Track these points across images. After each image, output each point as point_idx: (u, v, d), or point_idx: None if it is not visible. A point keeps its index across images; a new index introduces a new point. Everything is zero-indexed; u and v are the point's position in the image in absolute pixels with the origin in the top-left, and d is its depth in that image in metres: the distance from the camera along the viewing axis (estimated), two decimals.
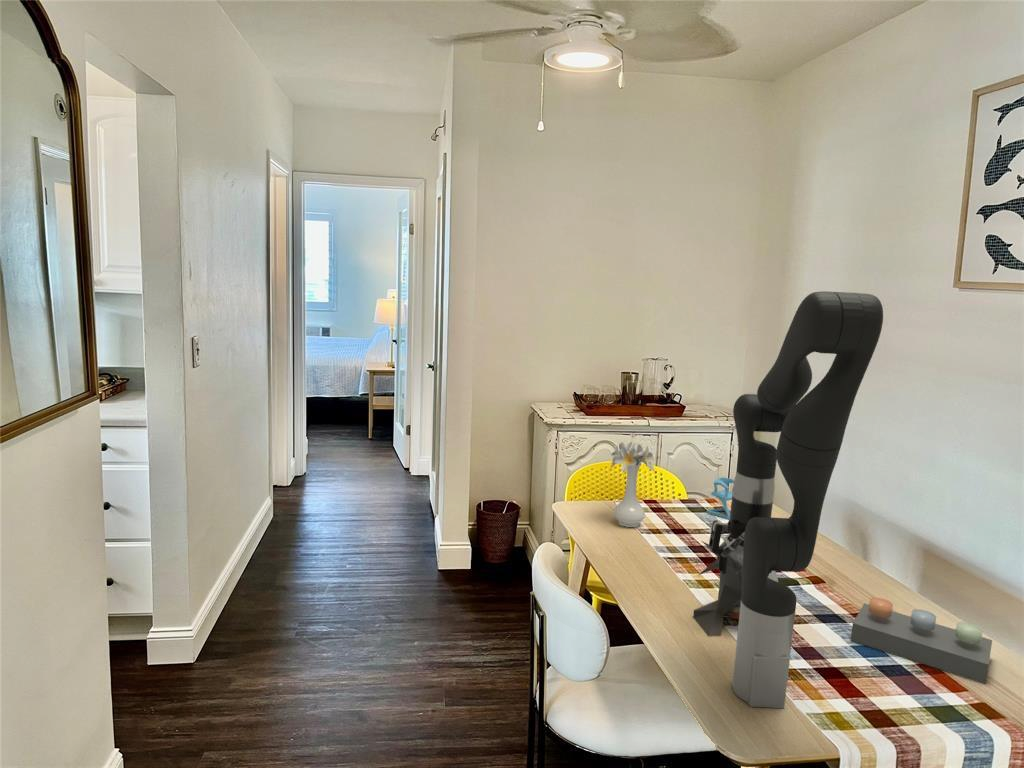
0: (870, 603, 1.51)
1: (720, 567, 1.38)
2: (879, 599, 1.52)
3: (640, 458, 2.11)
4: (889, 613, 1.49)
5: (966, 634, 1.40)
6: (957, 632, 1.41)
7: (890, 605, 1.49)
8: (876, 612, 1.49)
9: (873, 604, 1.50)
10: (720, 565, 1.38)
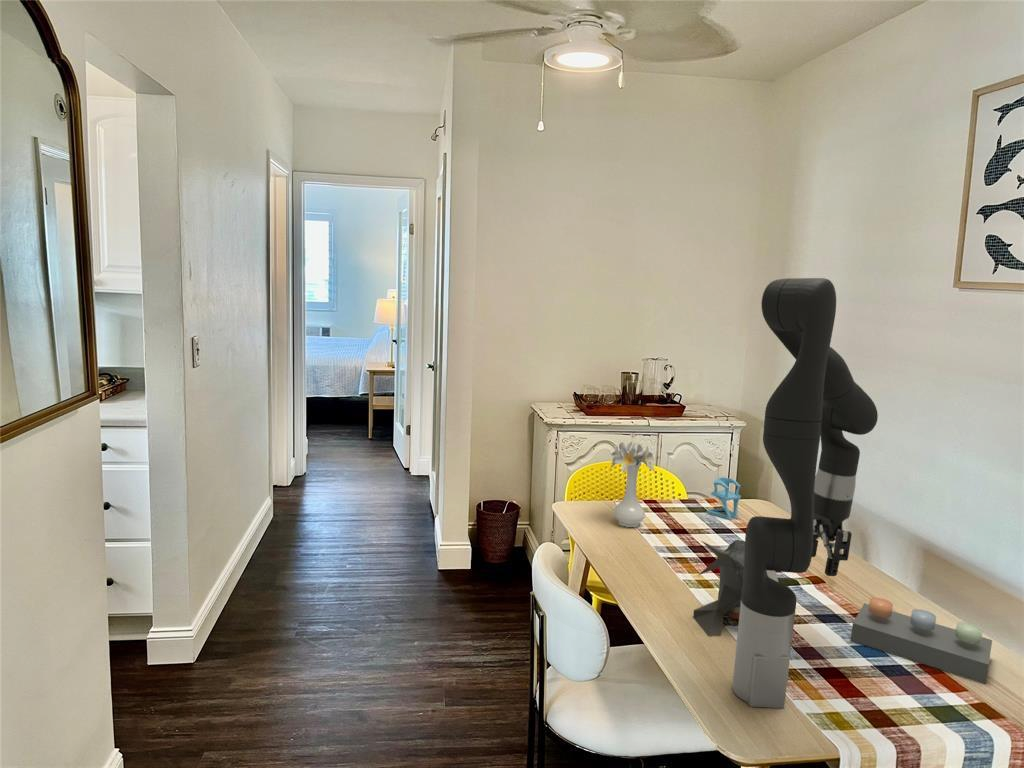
0: (870, 603, 1.51)
1: None
2: (879, 599, 1.52)
3: (640, 458, 2.11)
4: (889, 613, 1.49)
5: (966, 634, 1.40)
6: (957, 632, 1.41)
7: (890, 605, 1.49)
8: (876, 612, 1.49)
9: (873, 604, 1.50)
10: None
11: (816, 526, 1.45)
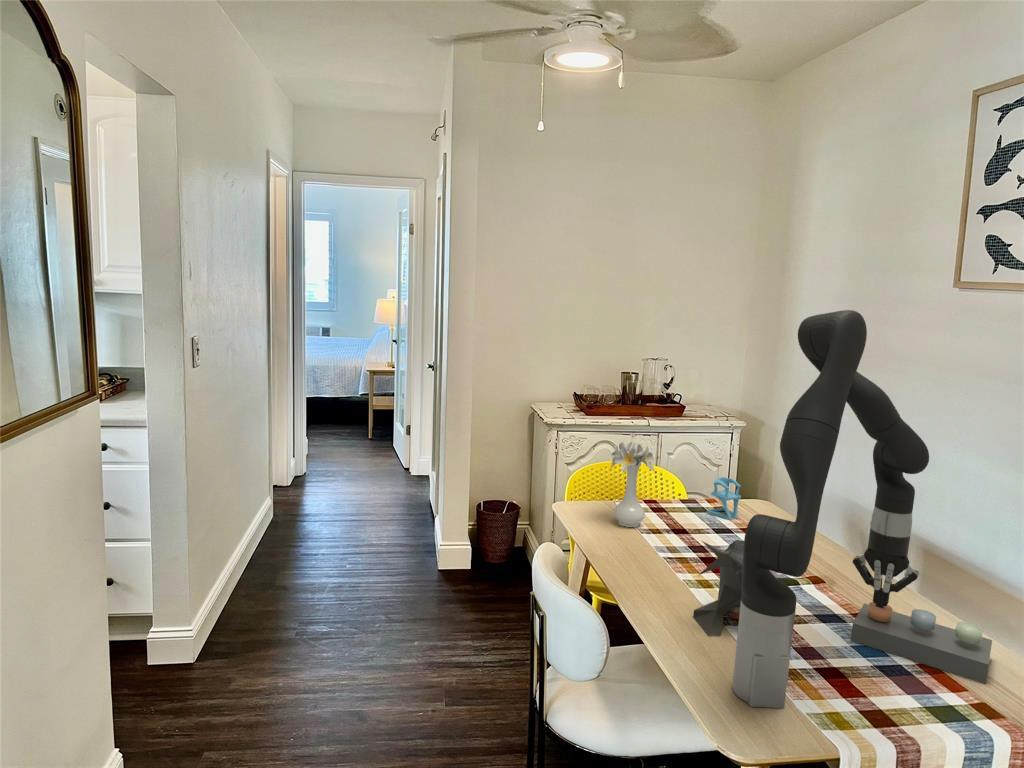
0: (869, 607, 1.51)
1: None
2: None
3: (640, 458, 2.11)
4: (888, 617, 1.49)
5: (966, 634, 1.40)
6: (957, 632, 1.41)
7: (889, 609, 1.49)
8: (876, 617, 1.49)
9: (872, 608, 1.50)
10: None
11: (881, 565, 1.48)
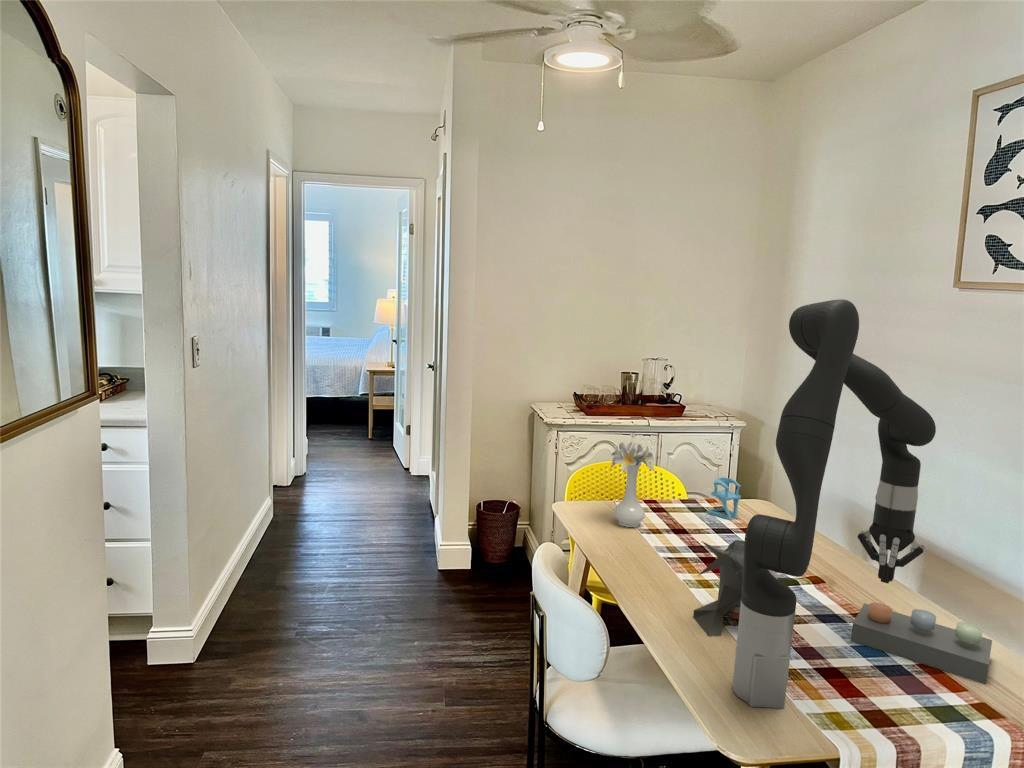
0: (869, 608, 1.51)
1: None
2: (878, 604, 1.52)
3: (640, 458, 2.11)
4: (888, 618, 1.49)
5: (966, 634, 1.40)
6: (957, 632, 1.41)
7: (889, 610, 1.49)
8: (875, 618, 1.49)
9: (872, 609, 1.50)
10: None
11: (886, 540, 1.47)
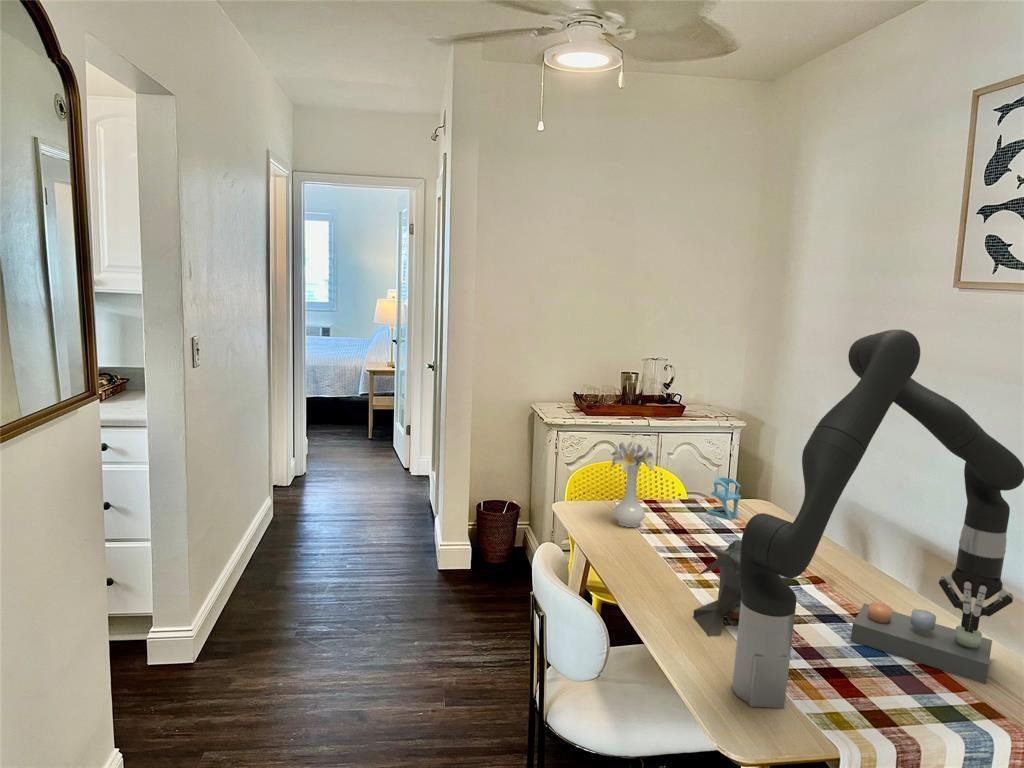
0: (869, 608, 1.51)
1: None
2: (878, 604, 1.52)
3: (640, 458, 2.11)
4: (888, 618, 1.49)
5: (966, 638, 1.40)
6: (957, 636, 1.41)
7: (889, 610, 1.49)
8: (875, 618, 1.49)
9: (872, 609, 1.50)
10: None
11: (971, 587, 1.39)
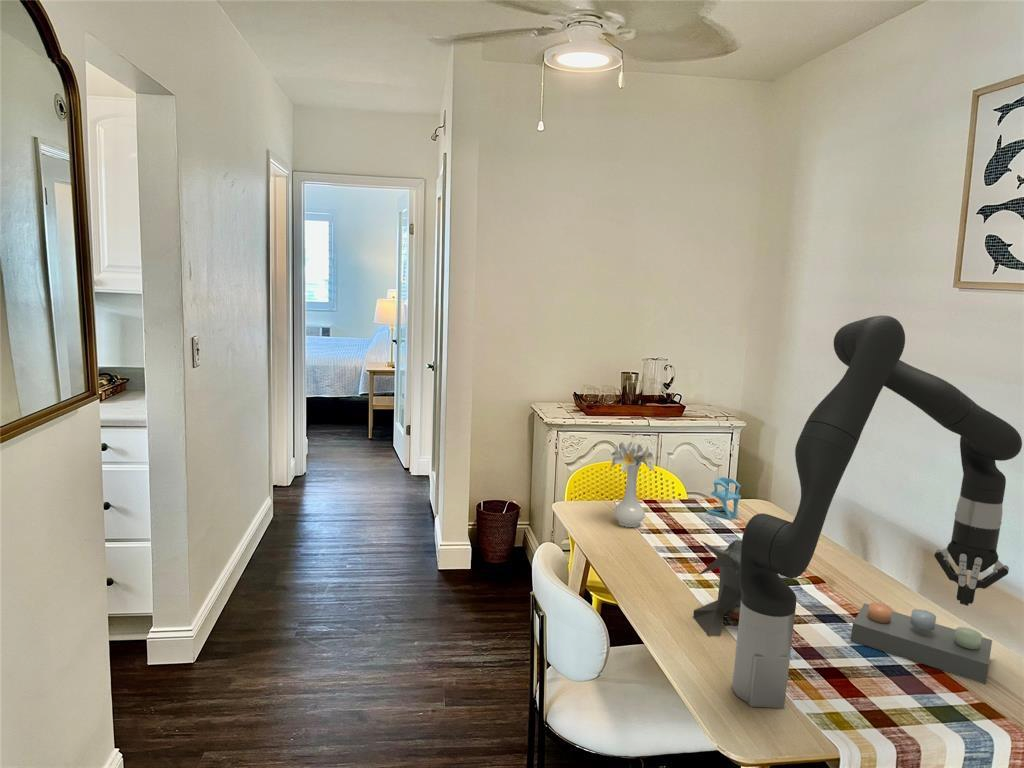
0: (869, 608, 1.51)
1: None
2: (878, 604, 1.52)
3: (640, 458, 2.11)
4: (888, 618, 1.49)
5: (965, 639, 1.40)
6: (956, 637, 1.41)
7: (889, 610, 1.49)
8: (875, 618, 1.49)
9: (872, 609, 1.50)
10: None
11: (966, 559, 1.38)
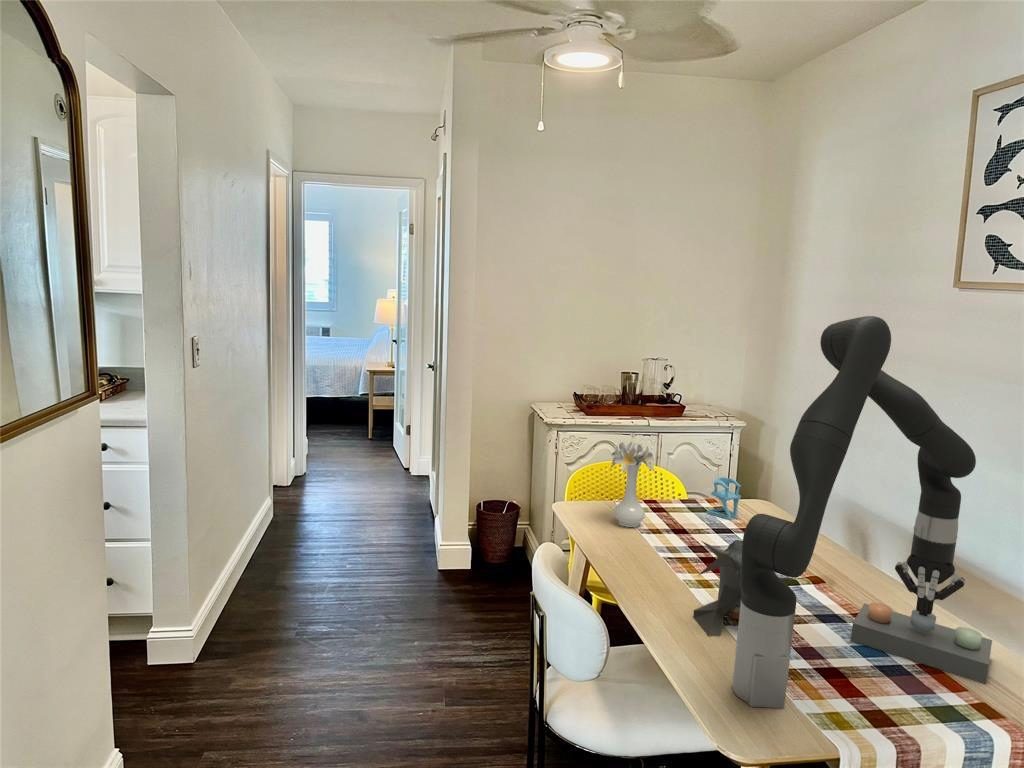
0: (869, 608, 1.51)
1: None
2: (878, 604, 1.52)
3: (640, 458, 2.11)
4: (888, 618, 1.49)
5: (965, 639, 1.40)
6: (956, 637, 1.41)
7: (889, 610, 1.49)
8: (875, 618, 1.49)
9: (872, 609, 1.50)
10: None
11: (925, 572, 1.44)
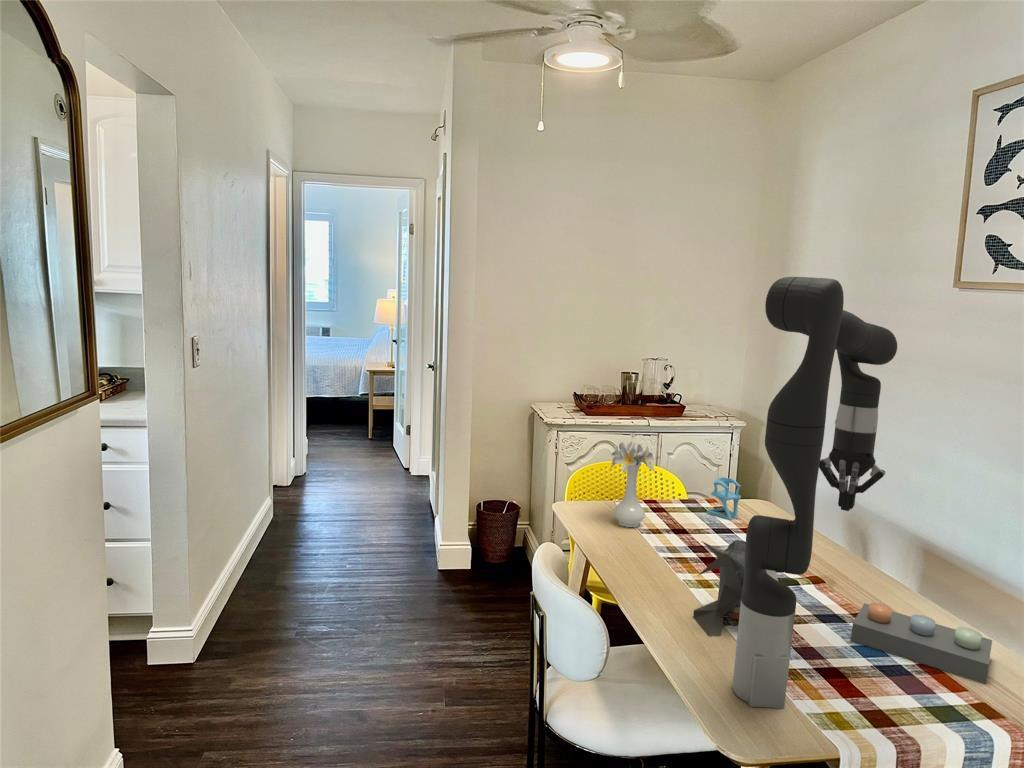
0: (869, 608, 1.51)
1: None
2: (878, 604, 1.52)
3: (640, 458, 2.11)
4: (888, 618, 1.49)
5: (965, 639, 1.40)
6: (956, 637, 1.41)
7: (889, 610, 1.49)
8: (875, 618, 1.49)
9: (872, 609, 1.50)
10: None
11: (846, 465, 1.42)
